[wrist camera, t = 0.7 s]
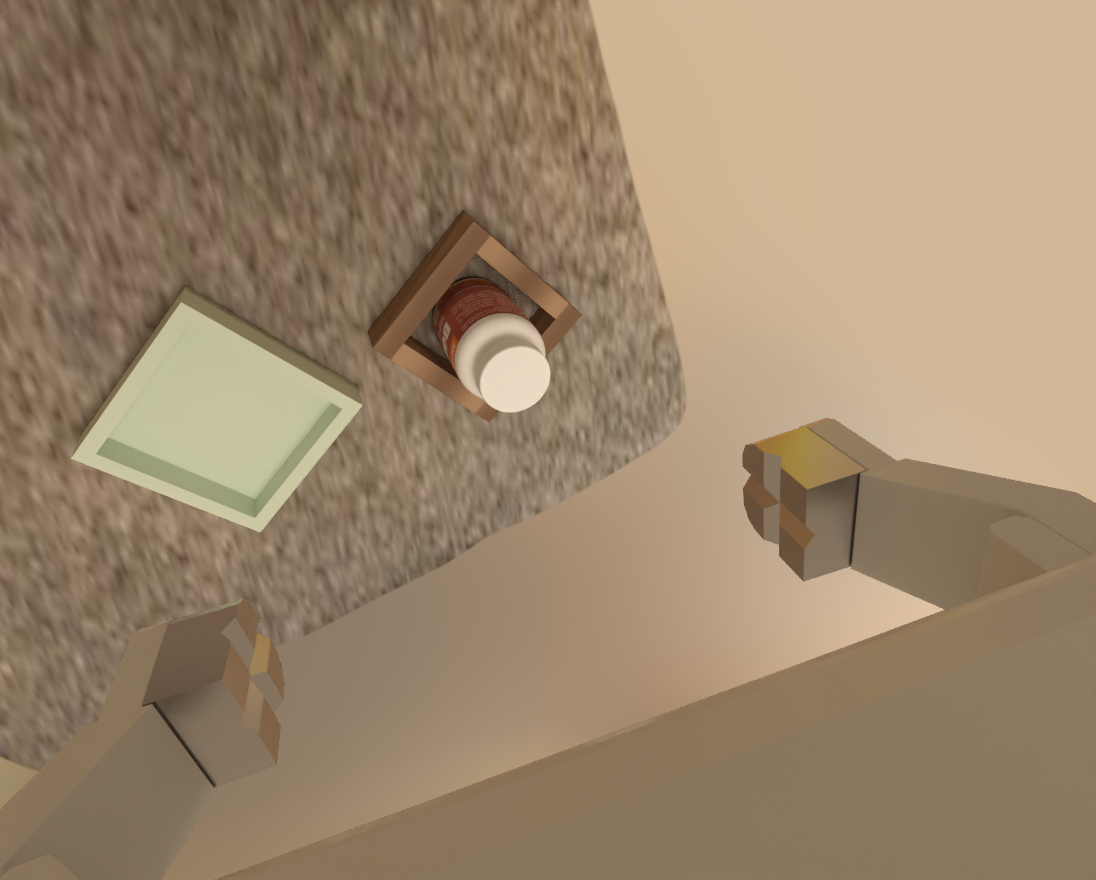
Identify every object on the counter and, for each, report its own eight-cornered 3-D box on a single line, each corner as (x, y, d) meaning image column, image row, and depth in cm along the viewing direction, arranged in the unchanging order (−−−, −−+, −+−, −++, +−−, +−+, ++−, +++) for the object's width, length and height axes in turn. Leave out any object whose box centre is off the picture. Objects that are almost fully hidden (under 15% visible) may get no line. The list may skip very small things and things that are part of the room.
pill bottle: (415, 301, 47) (449, 366, 39) (489, 260, 48) (539, 315, 39) (454, 366, 51) (493, 439, 43) (522, 328, 52) (575, 393, 43)
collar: (367, 331, 47) (372, 348, 45) (462, 210, 45) (473, 221, 43) (479, 404, 54) (489, 422, 51) (567, 300, 52) (581, 314, 49)
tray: (81, 434, 44) (70, 458, 42) (185, 285, 42) (180, 302, 39) (260, 508, 52) (260, 532, 50) (358, 386, 49) (362, 405, 47)
